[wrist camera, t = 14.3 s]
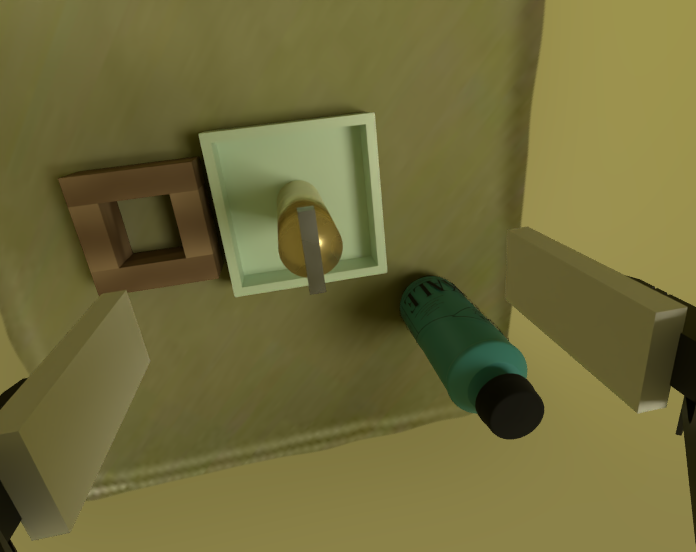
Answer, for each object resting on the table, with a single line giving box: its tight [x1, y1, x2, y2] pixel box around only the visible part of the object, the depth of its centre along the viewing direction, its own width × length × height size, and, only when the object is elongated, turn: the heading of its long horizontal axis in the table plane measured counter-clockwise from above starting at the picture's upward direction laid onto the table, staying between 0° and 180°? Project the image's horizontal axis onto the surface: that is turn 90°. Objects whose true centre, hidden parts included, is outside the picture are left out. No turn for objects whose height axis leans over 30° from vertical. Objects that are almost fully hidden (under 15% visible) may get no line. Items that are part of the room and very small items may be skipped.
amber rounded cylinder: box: [277, 180, 343, 295], centre depth 33 cm, size 5×4×15 cm
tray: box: [198, 112, 387, 297], centre depth 39 cm, size 14×14×4 cm
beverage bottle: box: [399, 276, 544, 439], centre depth 38 cm, size 6×7×20 cm
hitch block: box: [58, 157, 223, 296], centre depth 38 cm, size 10×10×4 cm
